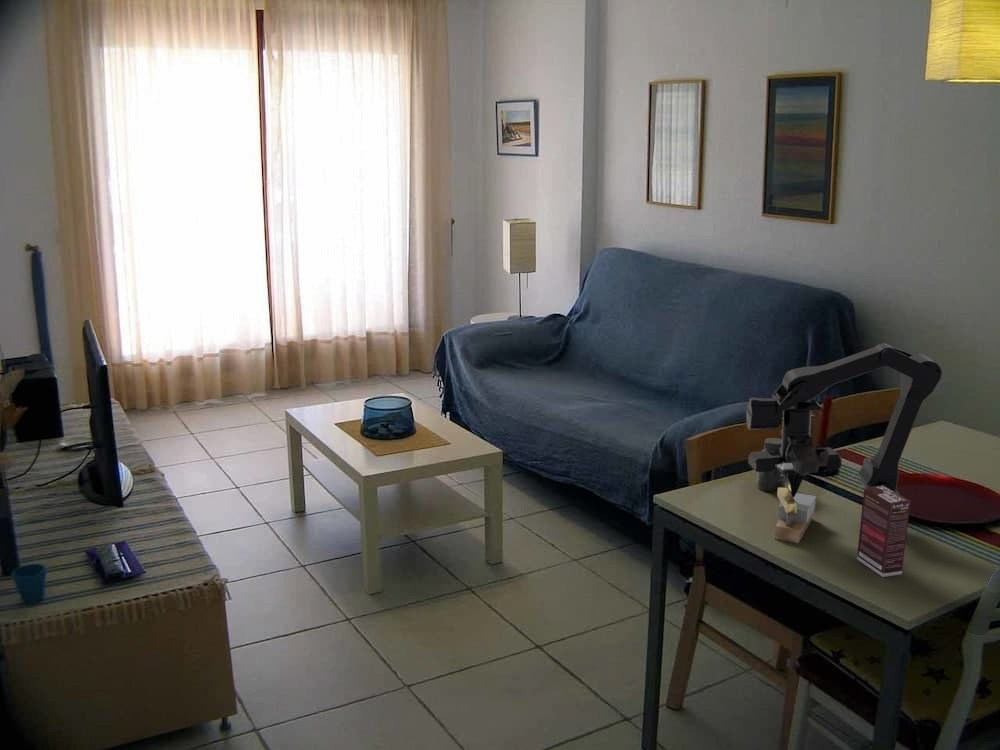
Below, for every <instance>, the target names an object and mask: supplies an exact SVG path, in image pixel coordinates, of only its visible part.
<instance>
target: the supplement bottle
mask: <svg viewBox="0 0 1000 750" xmlns="http://www.w3.org/2000/svg"><path fill="white" fill-rule="evenodd" d="M780 447H782V438H775V437H771V438H770V437H769V438H765V440H764V444H763V448H764V449H762V450H761V451H767V452H768V453H769V454H770V455H771V456H780V455H781V453H780V452H779V448H780ZM786 485H787V483H786V480H785V477H784V475H783V473H782V472H781V471H780V470H779V469H778V468H777V467H776V466H775V468H774V469H773V470H772V471H771V472H757V478H756V486H757V488H758V489H760V490H761V491H764V492H766V493H777V492H778V488H787V487H786Z"/></svg>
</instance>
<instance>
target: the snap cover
mask: <svg viewBox="0 0 1000 750" xmlns="http://www.w3.org/2000/svg"><path fill="white" fill-rule="evenodd" d="M816 497H817V496H816V495H809V494H804V493H799V492H797V493H796V495H795V497H793V498H794V500H795V501H796V502H797V513H794V517H793V522H798V523H803V524H806V523H807V522H808V520H809V518H810V516H811V515H812V513H813V512H814V511H815V508H816V500H817V499H816ZM786 518H787V512H785V509H784V507H783V505H782V503H781V502H780V503H779V505H778V512H777V519H778V520H780V519H783V520H786Z"/></svg>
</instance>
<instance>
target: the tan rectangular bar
mask: <svg viewBox="0 0 1000 750" xmlns="http://www.w3.org/2000/svg"><path fill="white" fill-rule="evenodd" d="M776 493H777V495H776V497H777V498H778V500H779V501H780V503H782V505H783V507H784V509H785V512H787V513H797V502H796V501H795V500H794V498H793V497H792V495H791V493H790V492H789V489H788V487H786V488H778V492H776Z"/></svg>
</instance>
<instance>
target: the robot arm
mask: <svg viewBox="0 0 1000 750" xmlns="http://www.w3.org/2000/svg"><path fill="white" fill-rule="evenodd" d="M884 367H888V368H891V369H893V370H895V371H897V372H899V373H901V375H900V393H899V395H898V396H899V397H898V400H897V402H896V404H895V407H894V410H893V412H892V415H891V418H890V420H889V422H888V424H887V427H886V430H885V433H884V436H883V437H882V440H881V443H880V446H879V448H878V451H877V453H876V454H875V455H874V456H873V457H871V459H870V458H868V457H865V458H864V459H863V463H862V467H861V468H860V470H859V471H858V475H859V481H860V484H861V486H862V488H863V489H864V488H866V487H873V486H885V487H887V488H888V489H890V490H892V491H894V492H896V493H897V494H899V495H901V494H900V493H899V492H898V491H897V487H898V483H899V482H898V481H899V464H900V463H899V462H900V460H901V457H902V455H903V453H904V451H905V447H906V445H907V442H908V439H909V438H910V437H909V436H910V435H911V432H912V430H913V428H914V424H915V422H916V421H917V420H916V419H917V417H918V414H919V412H920V409H921V407H922V404H923V402H925V400H927V398H928V397H930V395H931V394H933V392H934V391H935V389H936V387H937V386H938V384H939V383H940V381H941V379H942V375H943V371H942V368H941V367H940V365H939V364H938V363H936V362H935V361H934V360H932V358H930V357H928V356H927V355H925V354H923V353H913V354H912V353H909V352H906V351H904V350H901V349H898V348H896V347H893V346H891V345H890V344H889V343H884V342H883V343H879V344H877V345H876V346H874V347H871V348H869V349H866V350H865V349H864V350H863V351H860V352H856V353H854V354H852V355H849V356H846V357H844V358H841V359H837V360H835V361H832V362H830V363H826V364H822V365H816V366H815V365H814V366H811V365H809V366H803V367H798V368H793V369H790V370H788V371H787V372H786V373H785V374H784V376H783V378H782V383H781V384H780V385H779V386H778V387H777V389H776V390H775V391H774V392H773V393H772V395H771V397H772V398H771V397H770V398H769V397H768V398H766V397H765V398H761V397H760V398H759V397H749V402H748V404H747V409H746V412H745V414H746V415H745V417H746V426H747V430H750V431H751V430H776V429H777V428H780V426H781V425H782V428H781V429H779V430H780V433H779V434H780V436H781V440H782V447H780V448H779V452H780V453H781V455H780V456H771V455H770V454H769V453H768V452H767V451H762V450H759V451H757V450H756V451H751V452H750V453H749V455H748V460H747V461H748V462H747V463H748V464H749V466H750V467H751V468H752V470H754V471H755V472H756V473H758V472H771V471H772V470H773V469H774V468H775V466H776V467H777V468H778V469H779V470H780V471H781V472H782V473H783V475H784V477H785V480H786V485H787V488H788V490H789V492H790V493H791V495H792V497H795V495H796V493H798V491H799V488H800V486H801V484H802V482H803V480H804V479H805V477H806V476H807V475H808V474H811V473H812V474H816V473H817V472H819V471H818V470H819V468H820V467H826V468H827V469H840V468H841V467H842V461H843V460H842V456H841V455H840V453H838V452H837V451H835V450H834V448H832V447H815V446H814V444H813V436H812V435H811V426H812V423H811V422H812V411H821V410H822V409H823V408H822V407H823V406H821V405H820V404H819V403H818V402H817V401H816V399H815V398H816V397H817V396H820V395H821V394H822V393H823V392H825V391H826V390H827V389H828V388H830V387H832V386H834V385H837V384H839V383H842V382H844V381H847V380H851V379H852V378H853V379H854V378H856V377H859V376H861V375H864V374H865V375H866V374H868V373H870V372H873V371H876V370H879V369H881V368H884Z"/></svg>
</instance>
